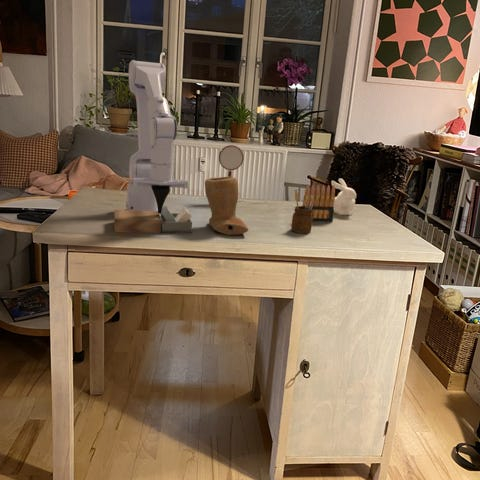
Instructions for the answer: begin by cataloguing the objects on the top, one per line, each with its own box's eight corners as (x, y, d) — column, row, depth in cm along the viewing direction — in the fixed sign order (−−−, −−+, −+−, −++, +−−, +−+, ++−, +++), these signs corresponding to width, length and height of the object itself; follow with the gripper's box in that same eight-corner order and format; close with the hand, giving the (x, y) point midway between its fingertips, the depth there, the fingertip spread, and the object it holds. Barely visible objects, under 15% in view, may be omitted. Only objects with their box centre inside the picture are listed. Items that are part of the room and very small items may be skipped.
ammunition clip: (330, 220, 165) (335, 184, 162) (332, 222, 164) (337, 185, 160) (299, 219, 163) (304, 183, 159) (301, 221, 161) (306, 184, 158)
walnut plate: (114, 232, 132) (114, 219, 131) (114, 222, 141) (114, 209, 140) (160, 232, 135) (161, 220, 134) (157, 222, 144) (157, 211, 143)
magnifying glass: (239, 202, 181) (244, 145, 175) (239, 203, 179) (244, 146, 173) (215, 200, 179) (219, 144, 174) (215, 201, 178) (219, 144, 172)
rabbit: (354, 217, 173) (359, 183, 170) (327, 214, 174) (331, 179, 171) (352, 210, 184) (357, 177, 181) (326, 207, 186) (331, 174, 182)
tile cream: (186, 211, 138) (191, 216, 139) (184, 207, 142) (189, 212, 143) (175, 223, 138) (181, 228, 139) (173, 219, 142) (178, 223, 143)
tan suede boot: (200, 221, 150) (203, 171, 146) (239, 223, 152) (244, 173, 148) (205, 235, 136) (208, 180, 132) (248, 237, 138) (253, 183, 134)
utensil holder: (305, 235, 146) (311, 194, 142) (286, 230, 149) (291, 190, 145) (314, 231, 150) (319, 191, 147) (295, 227, 153) (299, 188, 150)
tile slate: (161, 213, 136) (167, 209, 136) (159, 209, 140) (165, 205, 140) (170, 226, 138) (177, 222, 138) (168, 222, 142) (174, 218, 142)
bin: (161, 232, 135) (162, 222, 134) (158, 222, 144) (158, 212, 144) (191, 233, 137) (192, 222, 136) (186, 223, 146) (186, 213, 146)
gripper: (134, 164, 129) (133, 215, 133) (190, 167, 133) (187, 217, 137) (133, 160, 136) (132, 209, 139) (187, 163, 139) (184, 210, 143)
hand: (159, 212), depth 138 cm, fingers closed, pressing on tile slate
